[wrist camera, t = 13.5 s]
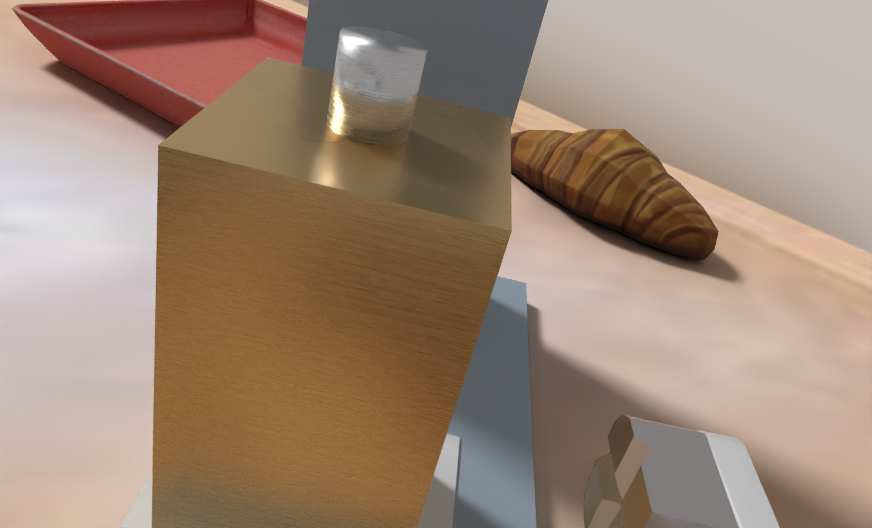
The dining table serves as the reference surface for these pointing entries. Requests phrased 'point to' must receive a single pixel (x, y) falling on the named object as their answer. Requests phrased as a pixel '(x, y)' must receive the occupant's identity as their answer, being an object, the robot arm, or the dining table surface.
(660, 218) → the croissant
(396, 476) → the block
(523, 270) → the dining table surface
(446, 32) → the press
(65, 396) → the dining table surface
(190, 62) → the plant saucer
